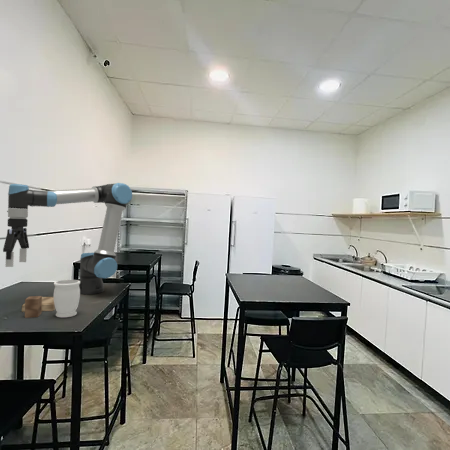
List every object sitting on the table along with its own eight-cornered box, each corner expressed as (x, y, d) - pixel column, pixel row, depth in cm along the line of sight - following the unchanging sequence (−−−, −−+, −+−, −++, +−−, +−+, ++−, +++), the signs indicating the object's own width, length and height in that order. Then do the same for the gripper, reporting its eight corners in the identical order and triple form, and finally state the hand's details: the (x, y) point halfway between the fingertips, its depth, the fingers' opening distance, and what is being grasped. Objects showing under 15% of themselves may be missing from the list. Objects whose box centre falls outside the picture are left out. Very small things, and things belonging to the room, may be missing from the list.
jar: (51, 319, 130) (52, 285, 130) (54, 312, 140) (55, 280, 139) (79, 317, 134) (80, 283, 134) (79, 310, 144) (80, 279, 144)
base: (61, 302, 155) (61, 296, 155) (53, 310, 142) (53, 303, 142) (32, 303, 152) (32, 296, 152) (21, 311, 138) (21, 304, 138)
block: (41, 313, 137) (41, 296, 137) (37, 317, 133) (38, 299, 132) (28, 314, 136) (29, 296, 136) (24, 317, 131) (25, 299, 131)
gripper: (20, 217, 150) (19, 260, 151) (-6, 217, 126) (-8, 268, 127) (37, 218, 152) (36, 260, 153) (14, 218, 128) (13, 268, 128)
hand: (16, 264), depth 140 cm, fingers open, 13 cm apart
